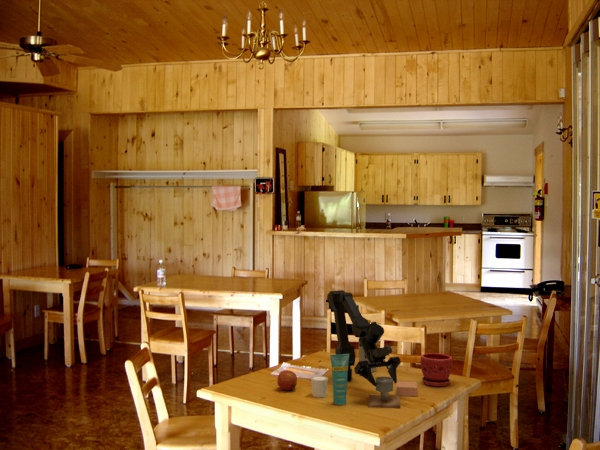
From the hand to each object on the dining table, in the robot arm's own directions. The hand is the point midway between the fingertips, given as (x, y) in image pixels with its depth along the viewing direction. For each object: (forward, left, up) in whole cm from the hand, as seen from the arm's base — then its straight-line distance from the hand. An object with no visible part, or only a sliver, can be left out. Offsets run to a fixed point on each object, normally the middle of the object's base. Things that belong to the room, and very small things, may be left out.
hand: (385, 384), depth 232 cm
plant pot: (+21, +29, -8) cm, 37 cm away
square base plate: (-1, +1, -7) cm, 8 cm away
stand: (+8, +14, -7) cm, 18 cm away
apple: (-41, +13, -8) cm, 43 cm away
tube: (-18, -2, -8) cm, 19 cm away
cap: (-1, +1, -2) cm, 3 cm away
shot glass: (-27, +7, -8) cm, 29 cm away
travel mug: (-9, +46, -8) cm, 47 cm away
